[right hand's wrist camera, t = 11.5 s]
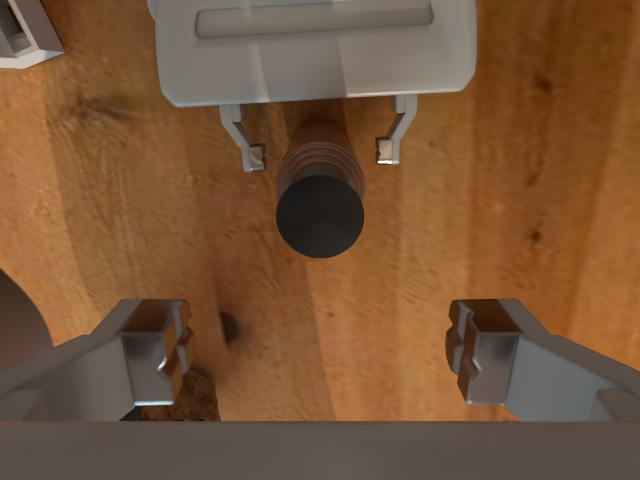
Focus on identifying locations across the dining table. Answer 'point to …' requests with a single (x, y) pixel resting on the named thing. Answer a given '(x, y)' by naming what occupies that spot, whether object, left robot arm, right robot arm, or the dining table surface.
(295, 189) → the cap
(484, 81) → the dining table surface
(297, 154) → the bottle
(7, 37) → the white wedge bracket
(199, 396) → the decorative rock
